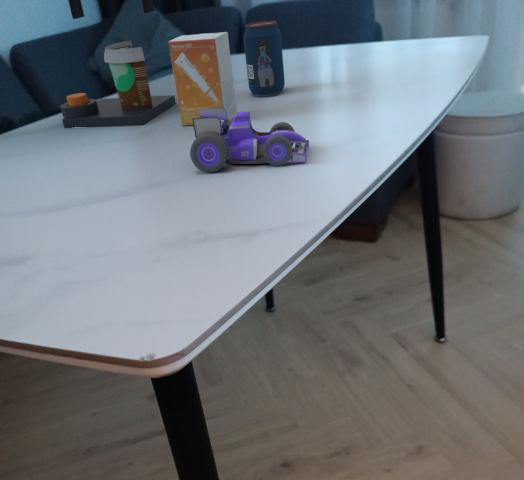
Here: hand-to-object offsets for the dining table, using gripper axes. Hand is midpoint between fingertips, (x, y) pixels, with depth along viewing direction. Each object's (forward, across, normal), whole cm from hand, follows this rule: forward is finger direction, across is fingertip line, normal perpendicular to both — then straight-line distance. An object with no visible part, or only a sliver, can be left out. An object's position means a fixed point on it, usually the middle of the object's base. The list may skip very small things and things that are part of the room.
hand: (113, 15), depth 102 cm
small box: (+17, -17, +6) cm, 25 cm away
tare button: (+13, +9, +4) cm, 17 cm away
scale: (+17, +3, 0) cm, 17 cm away
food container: (+15, 0, 0) cm, 15 cm away
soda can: (+16, -22, -13) cm, 31 cm away
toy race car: (+16, -31, +27) cm, 44 cm away
